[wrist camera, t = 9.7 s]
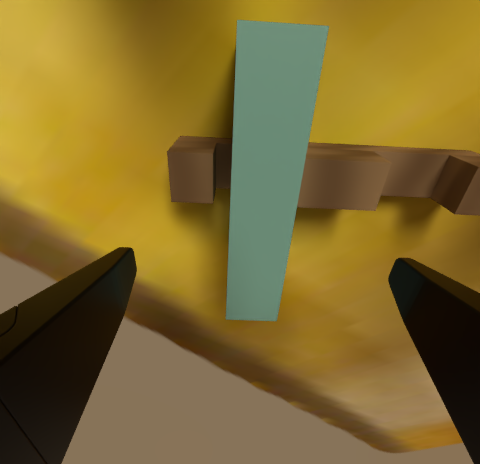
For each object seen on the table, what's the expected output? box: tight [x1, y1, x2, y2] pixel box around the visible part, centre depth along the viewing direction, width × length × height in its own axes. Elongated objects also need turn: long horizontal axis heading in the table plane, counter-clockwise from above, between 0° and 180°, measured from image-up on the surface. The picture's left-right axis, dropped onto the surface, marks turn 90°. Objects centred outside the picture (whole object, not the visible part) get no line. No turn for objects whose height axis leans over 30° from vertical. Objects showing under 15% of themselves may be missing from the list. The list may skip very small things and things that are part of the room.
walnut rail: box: [167, 136, 480, 215], centre depth 18 cm, size 20×3×4 cm, turn 87°
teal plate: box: [226, 20, 329, 321], centre depth 16 cm, size 14×3×8 cm, turn 177°
